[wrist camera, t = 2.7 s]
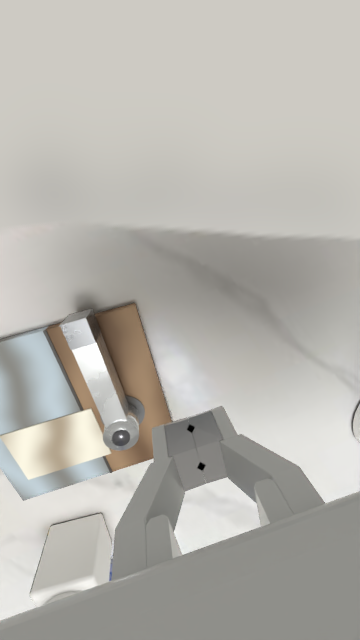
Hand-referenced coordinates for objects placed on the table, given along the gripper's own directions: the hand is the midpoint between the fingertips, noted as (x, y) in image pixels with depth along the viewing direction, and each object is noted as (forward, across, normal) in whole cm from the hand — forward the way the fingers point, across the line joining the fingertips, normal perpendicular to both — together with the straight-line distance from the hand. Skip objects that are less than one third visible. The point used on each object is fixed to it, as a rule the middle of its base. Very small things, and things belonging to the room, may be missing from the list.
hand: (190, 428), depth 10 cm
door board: (+17, +12, +8) cm, 23 cm away
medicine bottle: (+17, +19, +30) cm, 39 cm away
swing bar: (+15, +7, +5) cm, 18 cm away
